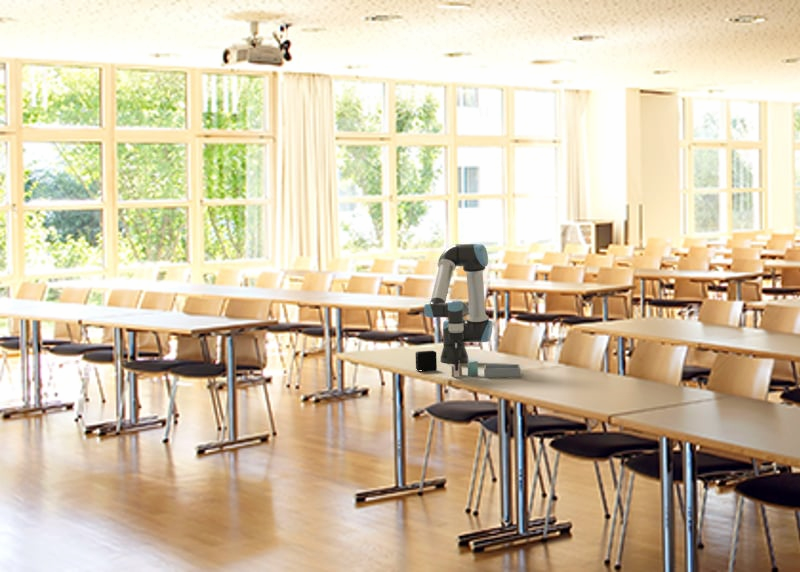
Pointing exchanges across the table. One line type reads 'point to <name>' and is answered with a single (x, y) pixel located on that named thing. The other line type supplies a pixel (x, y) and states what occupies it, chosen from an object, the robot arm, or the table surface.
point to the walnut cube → (459, 370)
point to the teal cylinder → (472, 368)
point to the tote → (502, 371)
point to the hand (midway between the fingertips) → (456, 375)
